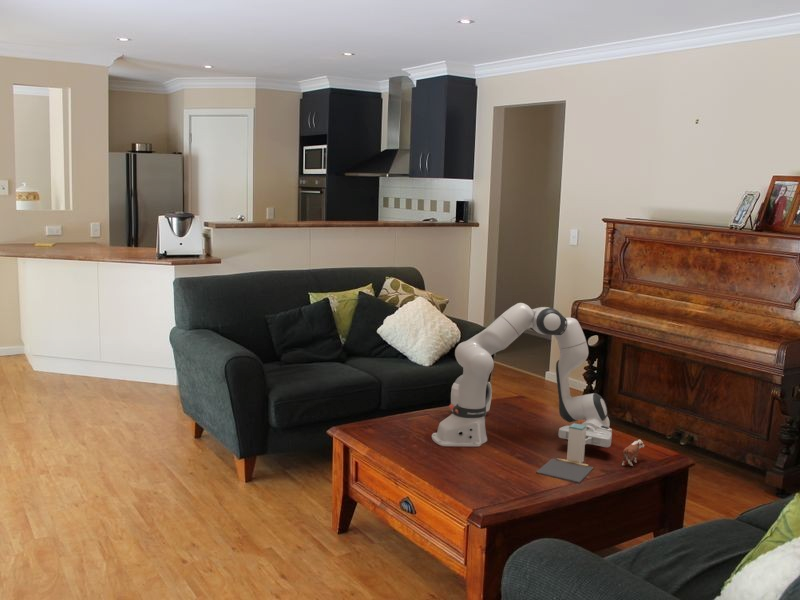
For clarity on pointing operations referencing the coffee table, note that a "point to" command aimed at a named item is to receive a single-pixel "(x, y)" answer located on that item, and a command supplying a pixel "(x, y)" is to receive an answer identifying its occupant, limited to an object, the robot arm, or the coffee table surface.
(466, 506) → the coffee table surface
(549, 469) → the charcoal rubber mat
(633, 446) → the bull figurine
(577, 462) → the oak stop strip
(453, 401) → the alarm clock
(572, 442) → the cream block
